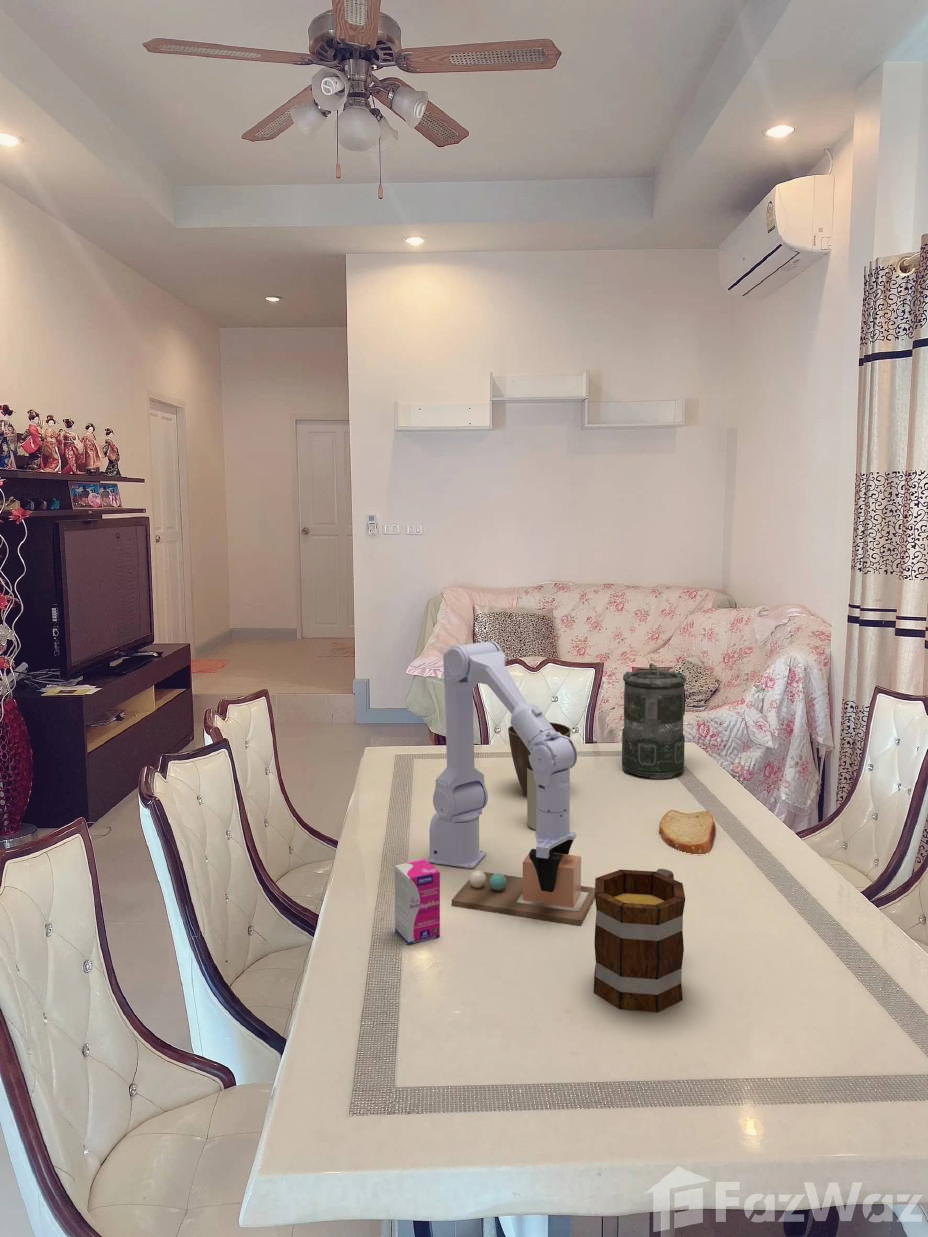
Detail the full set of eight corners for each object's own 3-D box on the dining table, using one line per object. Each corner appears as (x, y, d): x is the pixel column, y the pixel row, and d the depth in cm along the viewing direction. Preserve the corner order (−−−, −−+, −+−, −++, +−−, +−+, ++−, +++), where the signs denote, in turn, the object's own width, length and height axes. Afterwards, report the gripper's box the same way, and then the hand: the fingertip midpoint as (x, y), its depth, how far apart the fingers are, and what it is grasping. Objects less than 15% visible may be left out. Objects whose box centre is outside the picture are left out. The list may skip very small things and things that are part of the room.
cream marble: (467, 889, 159) (467, 873, 159) (472, 882, 162) (472, 866, 162) (483, 891, 158) (482, 875, 158) (488, 884, 161) (488, 869, 161)
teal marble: (487, 892, 158) (487, 876, 158) (492, 885, 161) (492, 869, 160) (503, 894, 157) (503, 878, 157) (508, 887, 160) (508, 871, 159)
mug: (666, 1024, 119) (669, 918, 118) (575, 995, 127) (575, 895, 125) (710, 960, 136) (712, 866, 134) (626, 938, 143) (628, 848, 141)
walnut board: (451, 905, 155) (451, 899, 155) (476, 876, 167) (476, 870, 167) (580, 926, 147) (580, 919, 147) (597, 893, 159) (597, 887, 159)
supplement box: (408, 946, 141) (407, 878, 140) (394, 930, 146) (392, 864, 145) (441, 938, 144) (440, 870, 142) (426, 923, 149) (425, 857, 147)
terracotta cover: (522, 900, 154) (522, 861, 153) (531, 887, 160) (531, 849, 159) (573, 907, 151) (573, 868, 150) (580, 894, 156) (581, 856, 156)
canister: (614, 763, 238) (615, 660, 234) (671, 760, 240) (673, 658, 236) (631, 781, 222) (633, 671, 219) (693, 778, 224) (695, 669, 220)
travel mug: (522, 829, 191) (522, 748, 188) (533, 817, 198) (533, 738, 196) (558, 834, 188) (558, 751, 185) (568, 821, 195) (568, 742, 193)
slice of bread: (695, 859, 175) (696, 841, 174) (630, 832, 189) (631, 815, 189) (755, 840, 184) (755, 822, 184) (688, 815, 199) (689, 799, 199)
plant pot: (580, 790, 216) (581, 726, 214) (553, 808, 204) (553, 740, 201) (526, 780, 224) (526, 718, 222) (496, 797, 212) (496, 732, 209)
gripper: (565, 824, 145) (565, 903, 147) (585, 796, 159) (584, 869, 160) (524, 819, 148) (524, 897, 149) (546, 792, 161) (546, 864, 163)
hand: (552, 882), depth 155 cm, fingers open, 7 cm apart
